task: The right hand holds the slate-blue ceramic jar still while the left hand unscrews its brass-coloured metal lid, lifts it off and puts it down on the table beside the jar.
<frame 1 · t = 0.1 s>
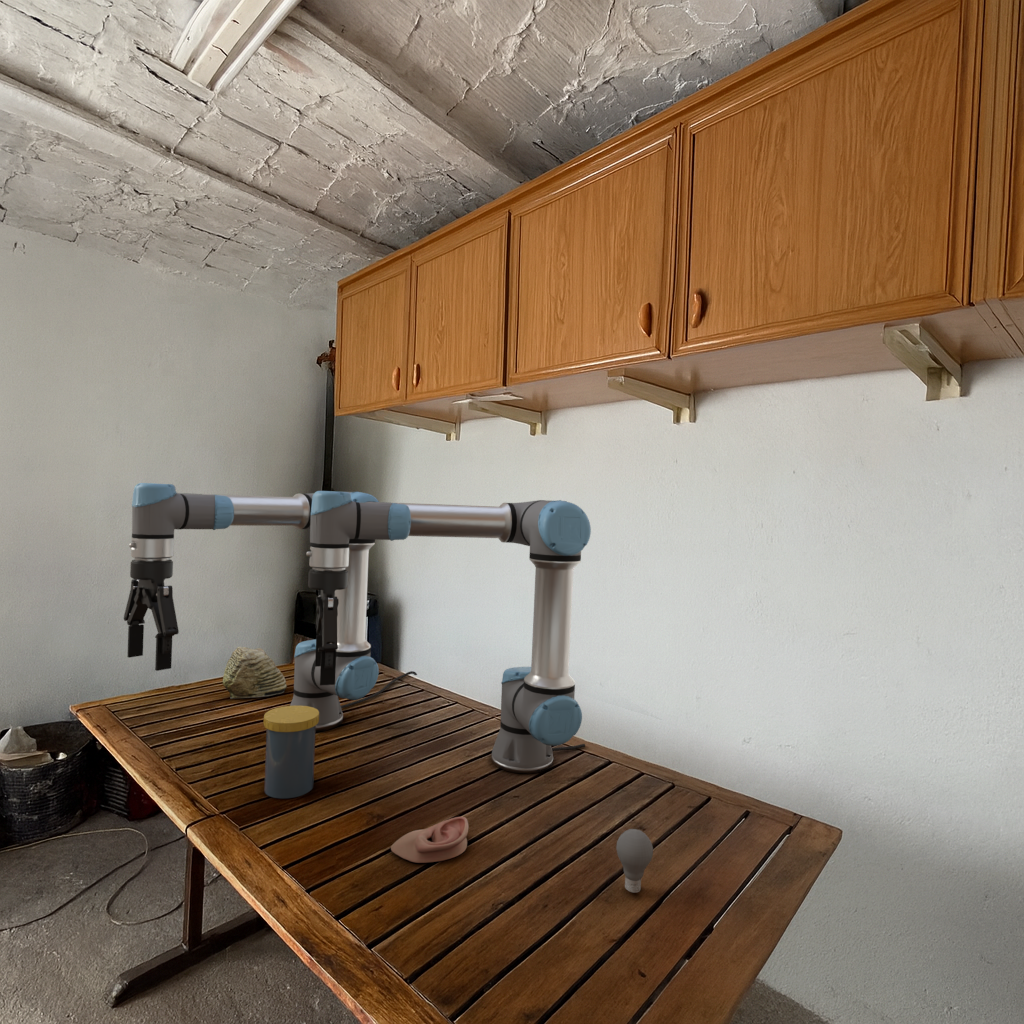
left hand: (148, 662, 129), 28 cm above the table, tool pointing down, fingers open, 13 cm apart
right hand: (324, 674, 126), 28 cm above the table, tool pointing down, fingers open, 13 cm apart
fossil: (254, 694, 198), on the table
light bulb: (632, 891, 106), on the table
lid: (291, 715, 137), point 16 cm above the table, screwed on, not yet turned
anatomical model: (430, 847, 116), on the table
jar: (289, 787, 137), on the table
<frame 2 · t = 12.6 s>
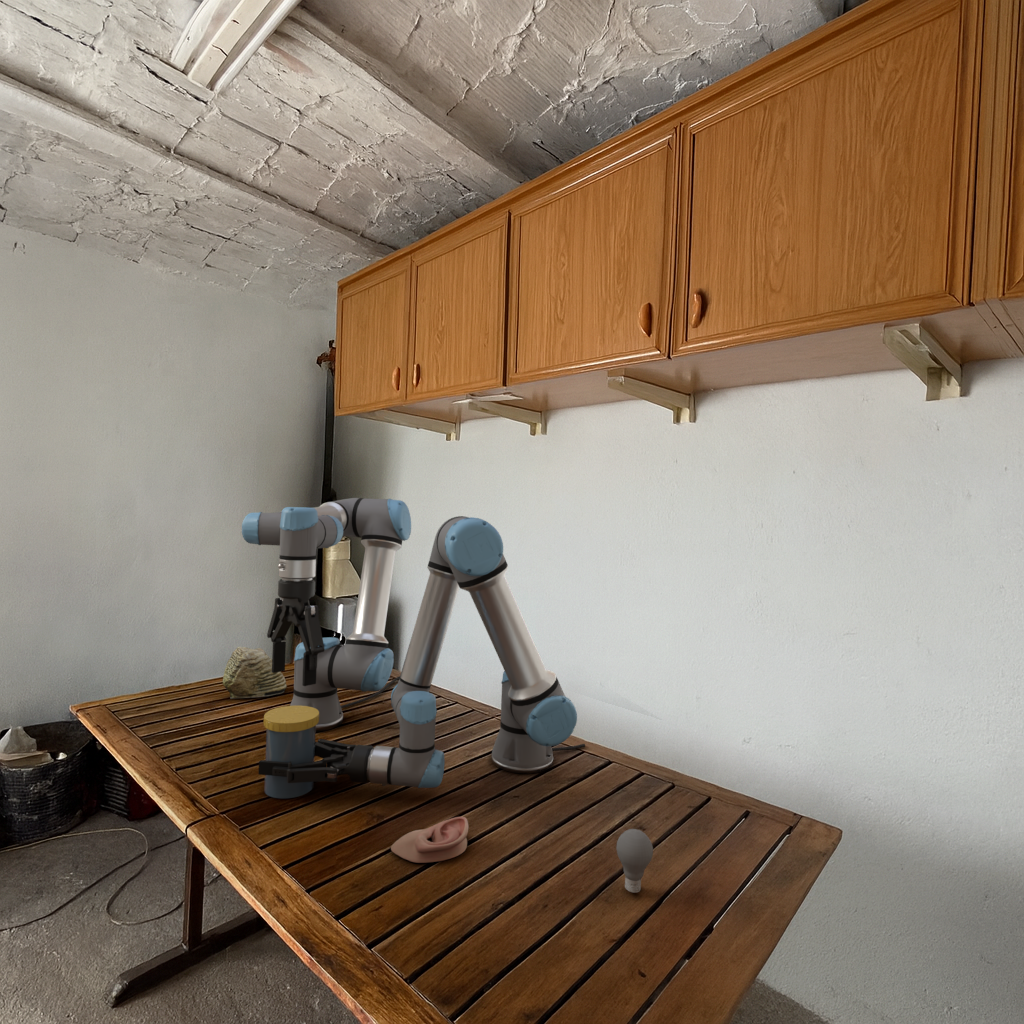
left hand: (293, 678, 137), 24 cm above the table, tool pointing down, fingers open, 12 cm apart
right hand: (271, 756, 137), 6 cm above the table, tool horizontal, fingers closed on jar, 10 cm apart
jar: (289, 787, 137), on the table, touching right hand
everything else where it was.
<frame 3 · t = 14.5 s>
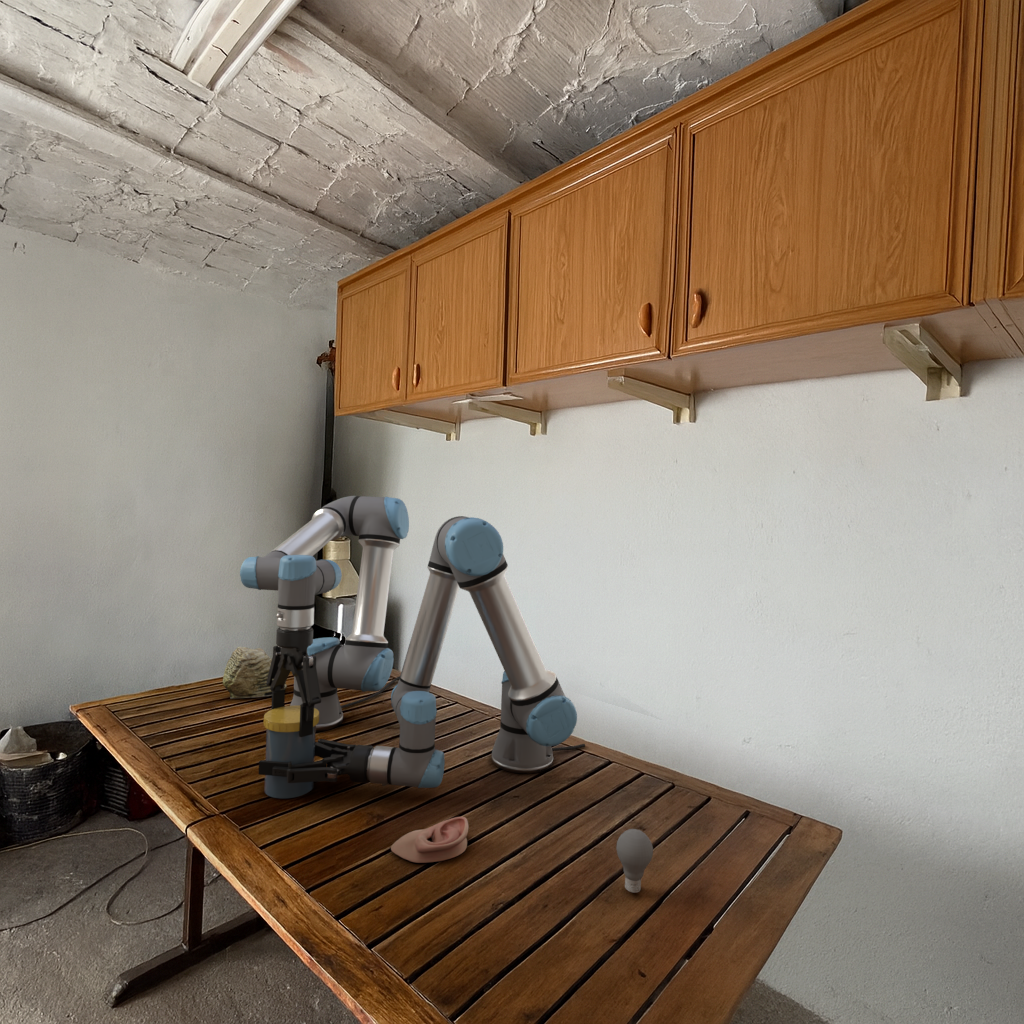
left hand: (291, 727, 137), 13 cm above the table, tool pointing down, fingers closed on lid, 11 cm apart
right hand: (271, 756, 137), 6 cm above the table, tool horizontal, fingers closed on jar, 10 cm apart
lid: (291, 715, 137), point 16 cm above the table, screwed on, not yet turned, touching left hand
jar: (289, 787, 137), on the table, touching right hand
everything else where it was.
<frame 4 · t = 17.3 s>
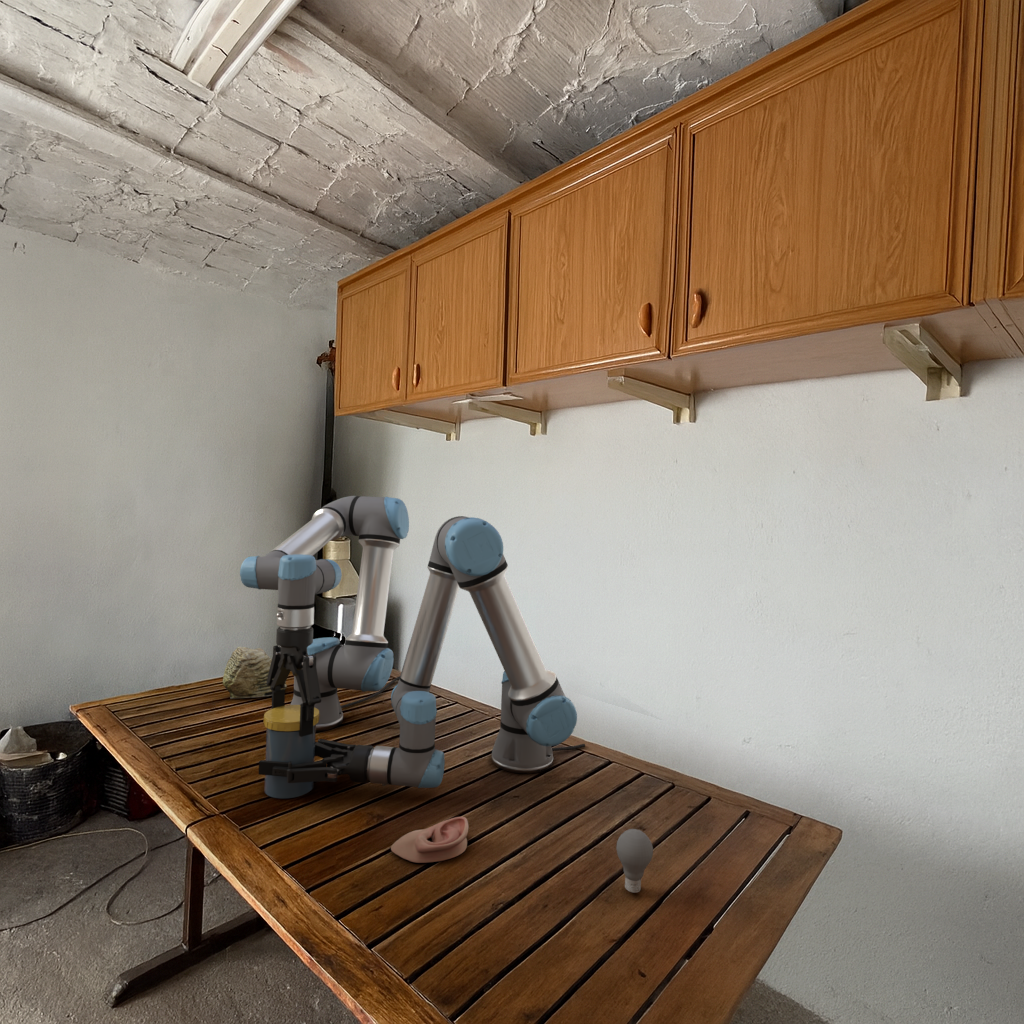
left hand: (291, 727, 137), 13 cm above the table, tool pointing down, fingers closed on lid, 11 cm apart
right hand: (271, 756, 137), 6 cm above the table, tool horizontal, fingers closed on jar, 10 cm apart
lid: (291, 714, 137), point 16 cm above the table, turned 72° so far, risen 0.2 cm, still on its thread, touching left hand
jar: (289, 787, 137), on the table, touching right hand
everything else where it was.
when the left hand's fingers open (0 cm above the table, at t = 26.0 s): lid drops 2 cm, point 2 cm above the table.
when the right hand's fingers open (6 cm above the table, at t = 27.0 s): jar stays where it is, on the table.
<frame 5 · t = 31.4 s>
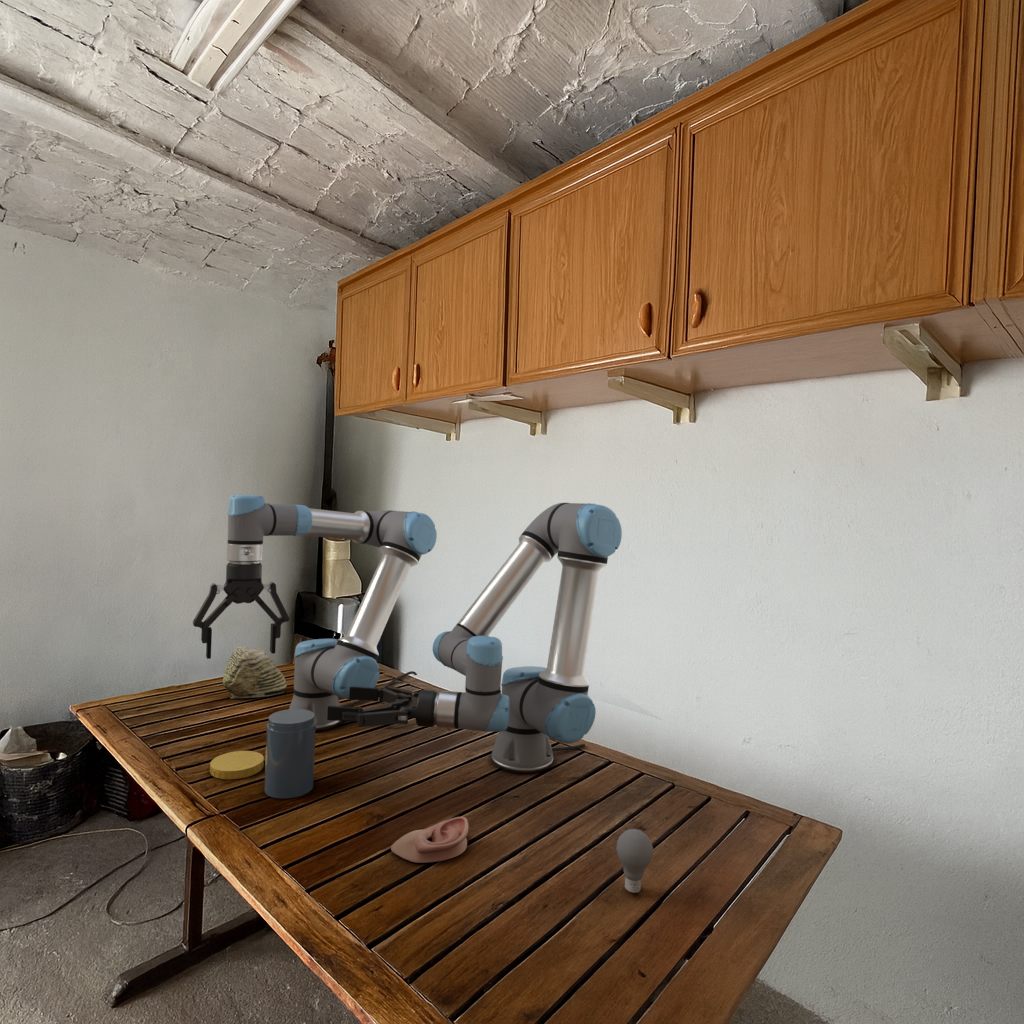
left hand: (241, 654, 145), 26 cm above the table, tool pointing down, fingers open, 13 cm apart
right hand: (339, 702, 136), 19 cm above the table, tool horizontal, fingers open, 13 cm apart
lid: (237, 761, 145), point 2 cm above the table, off its thread
jar: (289, 787, 137), on the table
everything else where it was.
at the end: lid came off its thread; lid point 1.6 cm above the table; the left hand is holding nothing; the right hand is holding nothing; jar tilted 0°; jar moved 0.0 cm from its start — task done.
